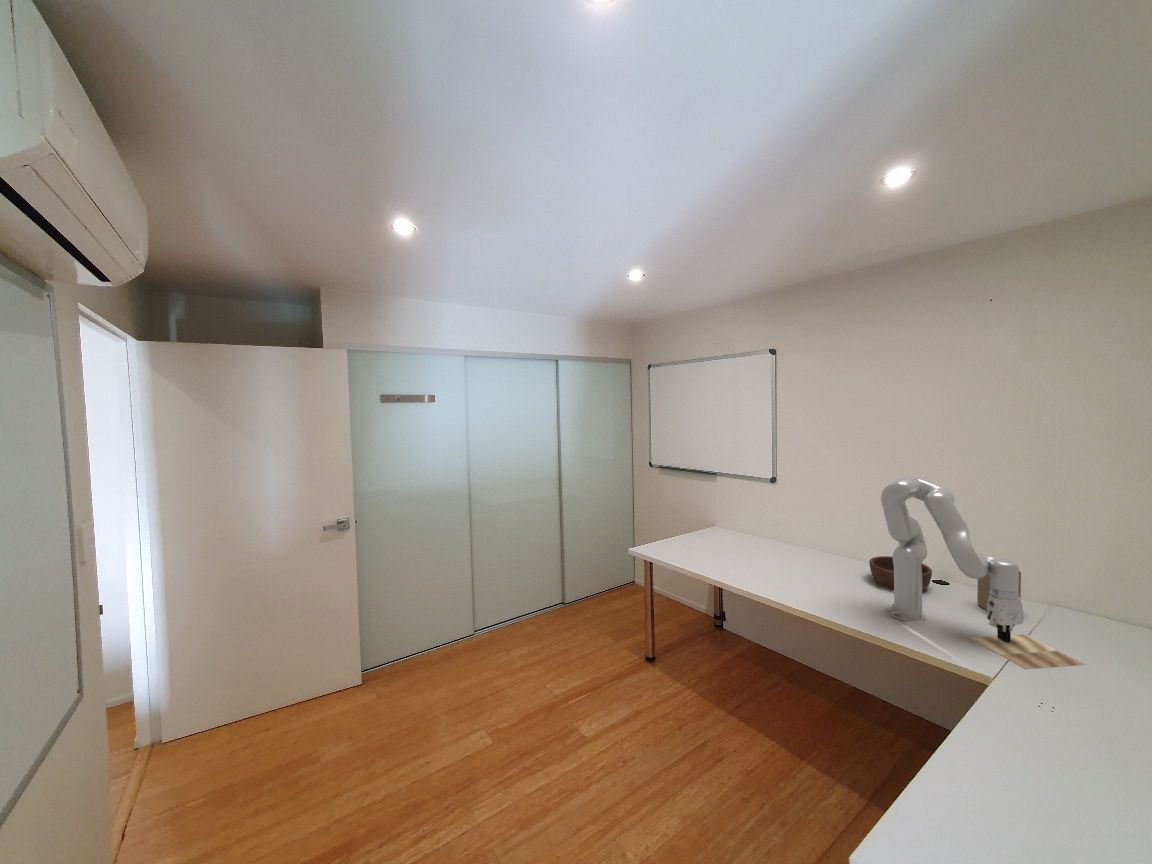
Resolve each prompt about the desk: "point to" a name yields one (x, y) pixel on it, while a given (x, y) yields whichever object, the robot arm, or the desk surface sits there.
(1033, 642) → the board
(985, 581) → the wooden block
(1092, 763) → the desk surface
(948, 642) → the desk surface
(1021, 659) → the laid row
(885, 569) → the wooden bowl
